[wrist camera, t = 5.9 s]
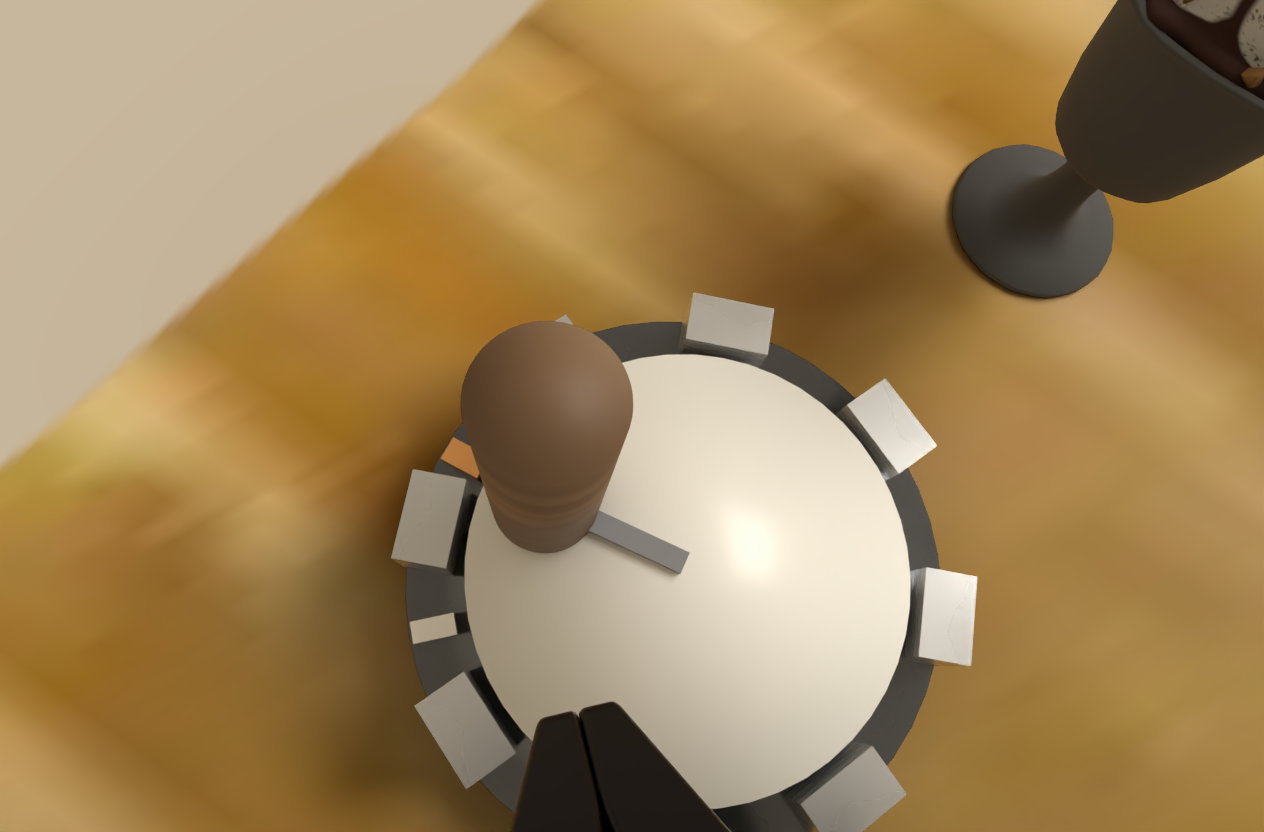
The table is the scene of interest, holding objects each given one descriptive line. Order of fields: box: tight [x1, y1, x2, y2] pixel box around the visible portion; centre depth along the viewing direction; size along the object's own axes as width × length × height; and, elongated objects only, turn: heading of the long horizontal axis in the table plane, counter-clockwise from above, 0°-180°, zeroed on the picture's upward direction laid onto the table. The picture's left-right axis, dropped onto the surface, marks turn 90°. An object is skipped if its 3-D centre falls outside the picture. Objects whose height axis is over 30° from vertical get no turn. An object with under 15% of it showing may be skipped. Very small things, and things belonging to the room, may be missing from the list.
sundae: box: [953, 0, 1264, 298], centre depth 20 cm, size 7×7×15 cm
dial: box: [461, 321, 910, 809], centre depth 17 cm, size 10×10×10 cm
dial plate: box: [391, 292, 977, 832], centre depth 22 cm, size 13×13×3 cm
